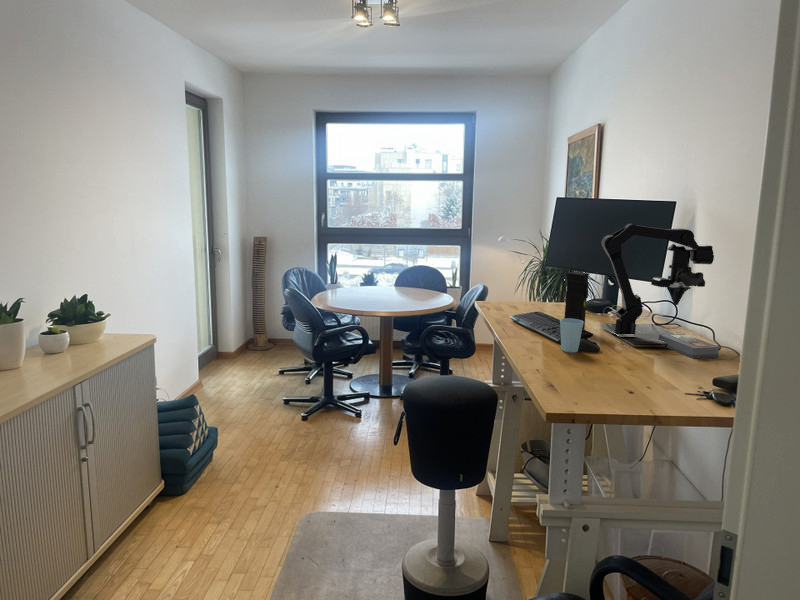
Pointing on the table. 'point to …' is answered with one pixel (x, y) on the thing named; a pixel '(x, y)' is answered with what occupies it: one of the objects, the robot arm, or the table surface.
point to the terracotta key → (699, 344)
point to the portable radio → (576, 296)
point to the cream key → (688, 338)
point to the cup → (570, 334)
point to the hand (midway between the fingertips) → (675, 305)
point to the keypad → (690, 347)
